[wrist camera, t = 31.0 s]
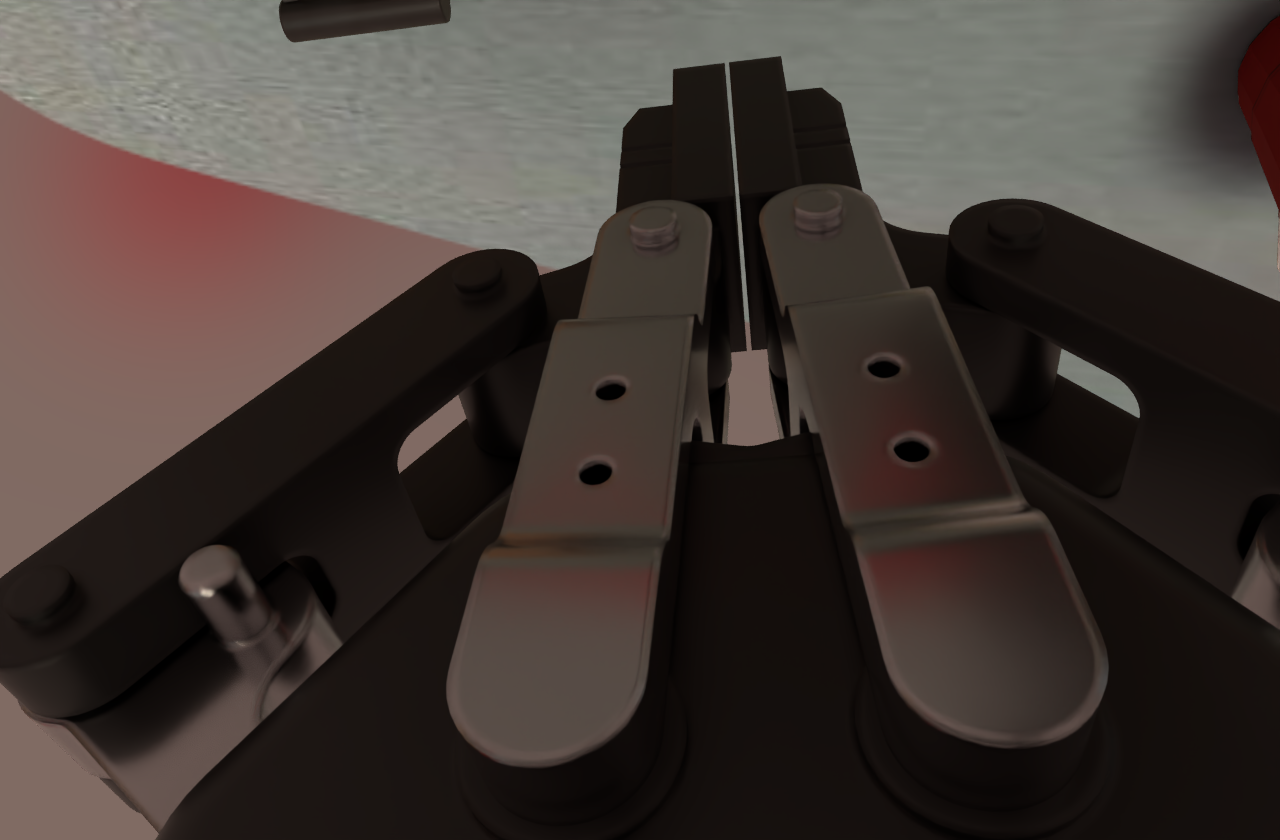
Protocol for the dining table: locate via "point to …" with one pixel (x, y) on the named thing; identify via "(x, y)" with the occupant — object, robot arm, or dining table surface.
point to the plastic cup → (1264, 104)
